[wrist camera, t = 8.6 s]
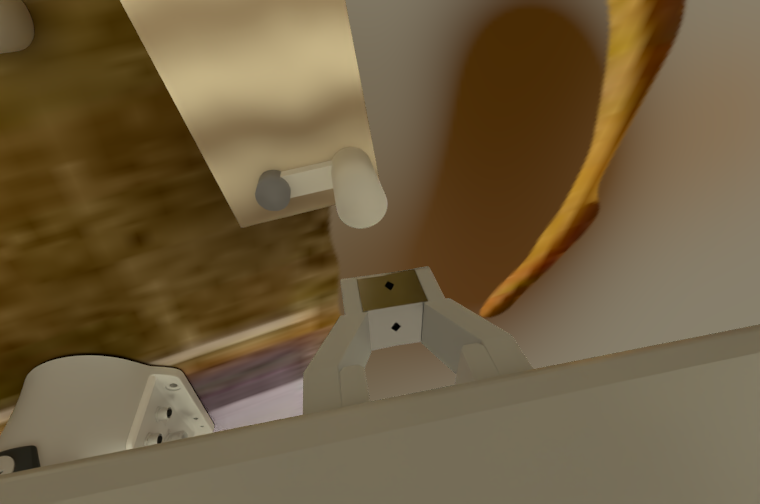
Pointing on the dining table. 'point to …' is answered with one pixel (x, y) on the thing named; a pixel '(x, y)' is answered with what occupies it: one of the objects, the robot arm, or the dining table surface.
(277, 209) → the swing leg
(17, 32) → the loose leg
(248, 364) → the dining table surface
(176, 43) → the wooden board with socket
